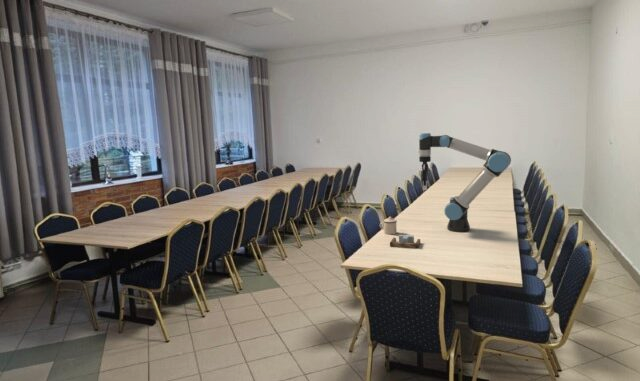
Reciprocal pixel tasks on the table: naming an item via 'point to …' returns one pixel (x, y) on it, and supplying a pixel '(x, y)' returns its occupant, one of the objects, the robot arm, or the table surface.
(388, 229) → the teacup with lid
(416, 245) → the walnut bay
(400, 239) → the slate t block
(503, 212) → the table surface
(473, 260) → the table surface
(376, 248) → the table surface
